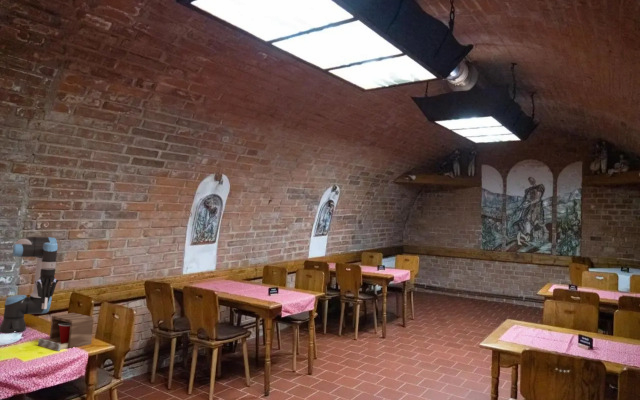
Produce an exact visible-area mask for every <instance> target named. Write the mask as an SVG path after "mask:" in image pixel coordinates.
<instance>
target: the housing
mask: <svg viewBox="0 0 640 400" xmlns="http://www.w3.org/2000/svg"><path fill="white" fill-rule="evenodd" d="M59 323H70V333H69V343H68V348H67V349H69V348H71V349H74V348H73V347H75V348H79V347H84V346H89V345H92V341H93V339H92V338H93V329H94V327H93V326H94V316H91V315H85V314H81V313H76V312H70V313H63V314H56V315H52V316H51V324H50V332H49V339H52V338H58V337H60V329H59V325H58V324H59Z"/></svg>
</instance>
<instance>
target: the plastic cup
mask: <svg viewBox="0 0 640 400" xmlns="http://www.w3.org/2000/svg"><path fill="white" fill-rule="evenodd" d="M58 325H59V329H60V341H61V344H64V343H69V333H70V323H59V324H58Z"/></svg>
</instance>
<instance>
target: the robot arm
mask: <svg viewBox="0 0 640 400" xmlns="http://www.w3.org/2000/svg"><path fill="white" fill-rule="evenodd" d="M58 245H59V244H58V241H57V238H56V237H50V236H25V237H20V239H19V238H18V240H16V241H15V243H14V244H13V247H12V256H13V257H15V258H16V257H17V258H21V257H22V258H23V257H24V258H28V257H29V258H35V259H36V264H35V274H34V283H33V291H32V292H31V293H30V295H29V296H27V294H16V295H10V296H8V297H6V298H5V302H4V310H3V319H2V322H1V323H0V333H5V334H7V333H8V334H9V333H10V332H14V331H19V332H18V333H22V332H25V331H26V330H27V326H26V325H27V324H26V321H25V315H37V314H38V315H43V314H47V313H49V312H50V308H51V306H52V305H51V304H52V299H53V295H54V292H55V289H56V287H57V284H58V283H59V280H58V279H57V278H55V275H56V268H57V256H58V250H59V249H58V248H59V247H58ZM10 334H11V333H10Z"/></svg>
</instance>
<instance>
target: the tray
mask: <svg viewBox="0 0 640 400" xmlns="http://www.w3.org/2000/svg"><path fill="white" fill-rule="evenodd" d="M37 342H38V343H37V346H38V347H43V348H46V349H50V350H53V351H57V352H60V351H62V350H66V349H69V348H68V343H64V344H61V341H60V337H58V338H52V339H50V338H48V339H44V338H41V337H39V338H38V341H37Z"/></svg>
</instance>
